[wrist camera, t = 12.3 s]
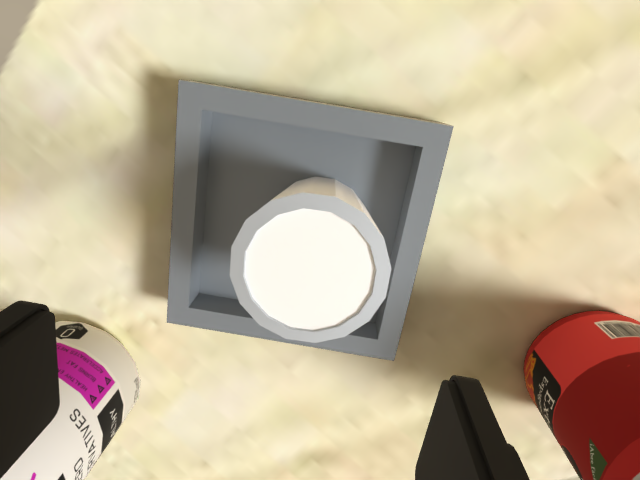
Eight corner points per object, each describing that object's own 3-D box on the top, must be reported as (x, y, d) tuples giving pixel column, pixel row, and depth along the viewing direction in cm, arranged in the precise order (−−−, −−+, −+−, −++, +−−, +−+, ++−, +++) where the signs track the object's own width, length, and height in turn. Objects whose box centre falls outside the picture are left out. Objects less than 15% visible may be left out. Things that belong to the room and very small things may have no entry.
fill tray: (195, 81, 23) (178, 79, 21) (442, 122, 23) (453, 126, 21) (182, 302, 28) (166, 322, 25) (389, 338, 28) (393, 360, 25)
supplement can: (5, 331, 29) (-320, 559, 15) (114, 303, 28) (-125, 520, 14) (61, 427, 31) (-174, 702, 17) (164, 404, 30) (4, 679, 16)
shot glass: (266, 282, 26) (239, 347, 20) (252, 169, 24) (216, 198, 17) (380, 277, 26) (393, 342, 19) (377, 161, 23) (389, 187, 17)
